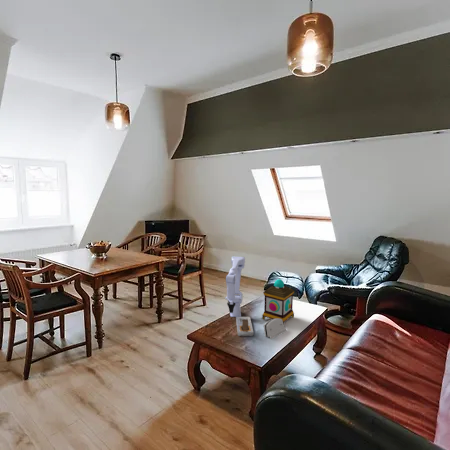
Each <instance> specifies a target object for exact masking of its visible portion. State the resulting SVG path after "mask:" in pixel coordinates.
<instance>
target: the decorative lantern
mask: <svg viewBox="0 0 450 450" xmlns="http://www.w3.org/2000/svg"><path fill="white" fill-rule="evenodd" d="M294 293H295V290H294V289H292V288H291V287H288V286H287V285H286V284H285V283H284V281H283V280H282V279H281V278H278V279H276V280H275V281H274V283H273V285H272V286H270V287H269V288H266V289H265V290H264V291H263V295H264V307H263V309H264V311H263V313H262V314H261V317H262V320H265V319H266V318H268V319H270V320H271V319H276V318H279V319H282V321H283V324H284V325H285V322H286V321H288V320H289V319H290V318H295V312H294V310H293V303H294V302H293V300H294Z"/></svg>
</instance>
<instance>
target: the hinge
mask: <svg viewBox="0 0 450 450" xmlns="http://www.w3.org/2000/svg"><path fill="white" fill-rule="evenodd" d="M287 331H288V329H287V328H286V327H285V323H284V324H283V321H282V319H279V318H276V319H271V318H270V320H267V321H266V322H265V324H263V332H264V337H267V338H269V339H270V340H272V339H275V338H277V337H278V336H280V335H281V334H284V333H286V332H287Z"/></svg>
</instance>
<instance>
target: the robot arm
mask: <svg viewBox="0 0 450 450" xmlns="http://www.w3.org/2000/svg"><path fill="white" fill-rule="evenodd" d="M245 263H246V258H245V256H234V255H232V256H231V258H230V264H231V266H232V267H231V268H229V271H228V274H226V277H225V284H226V297H224V298H225V300H226V301H227V303H226V305H227V307H228V312H229V314H230V317H233V318H234V317H235V318H236V317H242V312H241V304H242V303H243V292H242V291H241V290H240V287H241V276H242V270H243V269H244V268H245V266H246V265H245Z"/></svg>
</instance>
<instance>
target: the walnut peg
mask: <svg viewBox="0 0 450 450" xmlns="http://www.w3.org/2000/svg"><path fill="white" fill-rule="evenodd" d="M242 330H248V319H242Z"/></svg>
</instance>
